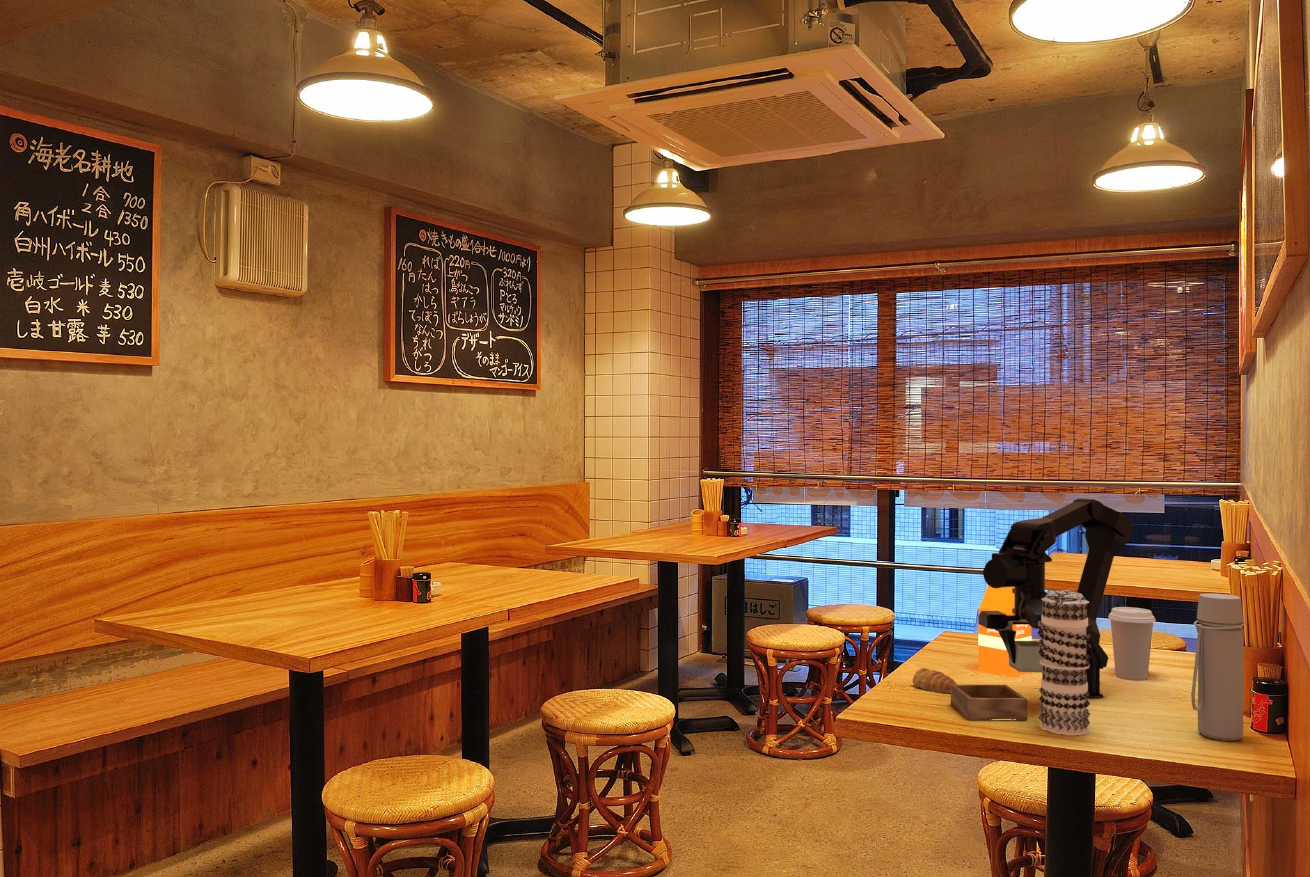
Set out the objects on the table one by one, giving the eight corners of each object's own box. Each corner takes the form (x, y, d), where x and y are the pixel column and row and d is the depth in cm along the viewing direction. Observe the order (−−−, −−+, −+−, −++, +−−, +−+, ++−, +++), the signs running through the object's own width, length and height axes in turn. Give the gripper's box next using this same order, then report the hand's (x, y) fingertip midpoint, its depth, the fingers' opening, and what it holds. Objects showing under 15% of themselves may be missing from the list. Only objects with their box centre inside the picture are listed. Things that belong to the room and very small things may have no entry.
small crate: (1038, 665, 197) (1038, 640, 197) (1050, 672, 191) (1050, 646, 191) (1008, 665, 197) (1008, 640, 197) (1019, 672, 191) (1020, 646, 191)
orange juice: (1013, 678, 215) (1013, 588, 215) (977, 671, 222) (978, 583, 222) (1031, 673, 220) (1032, 585, 220) (996, 666, 227) (997, 580, 227)
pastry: (965, 692, 204) (965, 674, 204) (944, 697, 200) (944, 678, 200) (929, 682, 211) (929, 665, 211) (908, 687, 208) (908, 669, 208)
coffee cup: (1109, 679, 214) (1109, 611, 214) (1106, 670, 223) (1107, 605, 223) (1157, 683, 211) (1157, 614, 211) (1153, 674, 220) (1153, 608, 220)
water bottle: (1222, 728, 177) (1222, 592, 178) (1255, 742, 170) (1255, 599, 170) (1177, 731, 176) (1177, 593, 176) (1208, 744, 168) (1208, 600, 168)
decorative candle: (1046, 718, 184) (1046, 586, 184) (1098, 727, 178) (1098, 591, 178) (1029, 729, 177) (1030, 592, 177) (1083, 739, 171) (1083, 597, 171)
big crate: (1005, 704, 193) (1005, 684, 193) (1027, 720, 182) (1027, 699, 182) (950, 704, 193) (950, 684, 193) (969, 720, 182) (969, 699, 182)
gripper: (997, 590, 186) (997, 672, 185) (1094, 591, 186) (1094, 673, 186) (977, 582, 197) (977, 659, 197) (1069, 583, 197) (1068, 660, 197)
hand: (1029, 663), depth 194 cm, fingers closed on small crate, 6 cm apart
